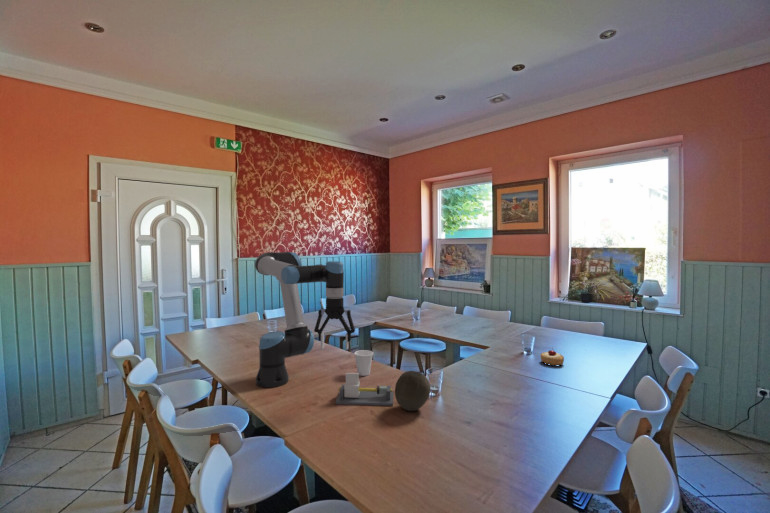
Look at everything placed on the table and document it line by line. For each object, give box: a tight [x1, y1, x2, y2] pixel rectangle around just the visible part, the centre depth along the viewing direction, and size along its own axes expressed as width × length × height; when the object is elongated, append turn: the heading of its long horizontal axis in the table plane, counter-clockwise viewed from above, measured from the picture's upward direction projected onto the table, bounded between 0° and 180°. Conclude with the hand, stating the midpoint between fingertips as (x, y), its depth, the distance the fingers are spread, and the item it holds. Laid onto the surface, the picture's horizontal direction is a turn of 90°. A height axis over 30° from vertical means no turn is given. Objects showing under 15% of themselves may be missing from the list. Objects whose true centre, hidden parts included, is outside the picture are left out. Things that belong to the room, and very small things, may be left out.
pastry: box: [540, 347, 565, 366], centre depth 201 cm, size 12×12×9 cm
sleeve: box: [344, 372, 361, 398], centre depth 155 cm, size 6×5×10 cm
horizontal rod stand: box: [334, 384, 395, 407], centre depth 154 cm, size 24×12×6 cm, turn 87°
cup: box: [353, 349, 374, 377], centre depth 184 cm, size 10×10×11 cm
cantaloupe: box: [394, 370, 431, 412], centre depth 145 cm, size 14×14×15 cm
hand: (334, 348), depth 155 cm, fingers open, 10 cm apart
